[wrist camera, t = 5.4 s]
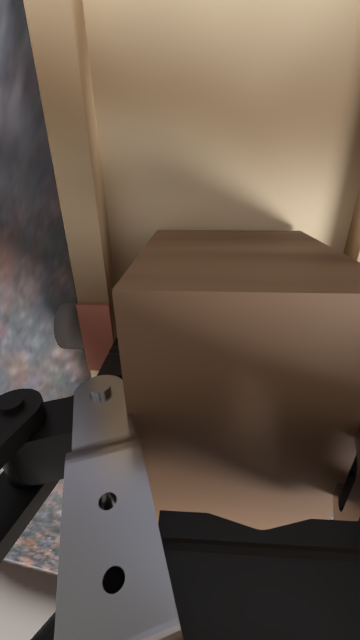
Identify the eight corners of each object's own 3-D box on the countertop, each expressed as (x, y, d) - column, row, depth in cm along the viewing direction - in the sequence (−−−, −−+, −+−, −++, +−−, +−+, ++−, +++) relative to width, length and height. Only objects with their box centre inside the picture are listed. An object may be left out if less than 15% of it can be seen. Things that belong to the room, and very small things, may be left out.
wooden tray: (9, -41, 8) (-89, -155, 6) (492, -65, 8) (667, -209, 5) (97, 428, 17) (76, 479, 14) (329, 437, 16) (358, 493, 13)
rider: (157, 230, 10) (112, 289, 5) (300, 230, 10) (420, 294, 5) (164, 401, 14) (142, 544, 8) (269, 405, 14) (315, 555, 8)
